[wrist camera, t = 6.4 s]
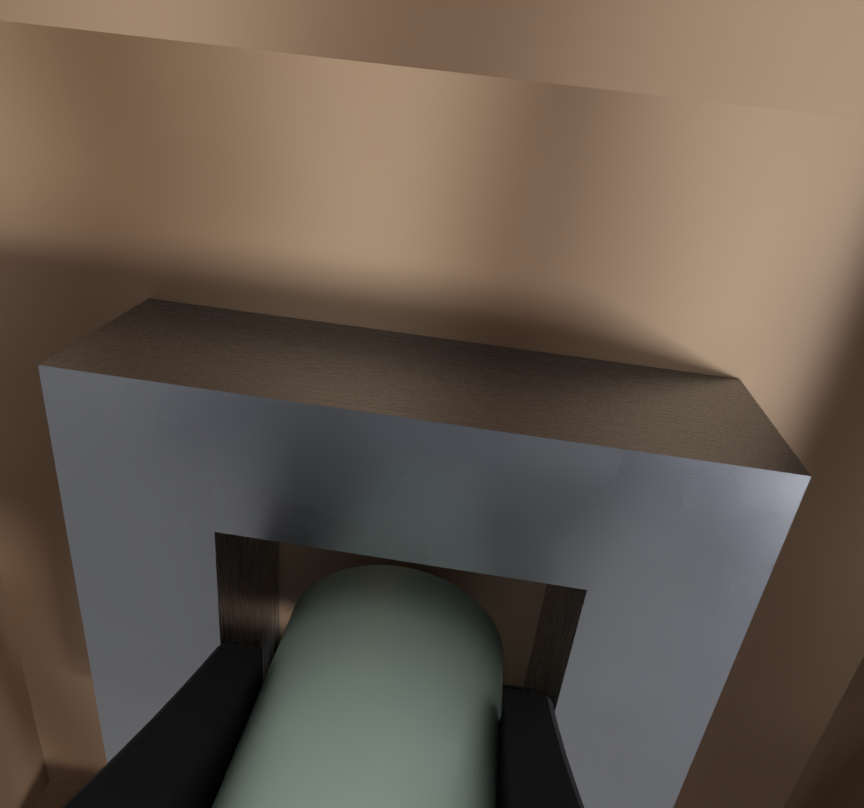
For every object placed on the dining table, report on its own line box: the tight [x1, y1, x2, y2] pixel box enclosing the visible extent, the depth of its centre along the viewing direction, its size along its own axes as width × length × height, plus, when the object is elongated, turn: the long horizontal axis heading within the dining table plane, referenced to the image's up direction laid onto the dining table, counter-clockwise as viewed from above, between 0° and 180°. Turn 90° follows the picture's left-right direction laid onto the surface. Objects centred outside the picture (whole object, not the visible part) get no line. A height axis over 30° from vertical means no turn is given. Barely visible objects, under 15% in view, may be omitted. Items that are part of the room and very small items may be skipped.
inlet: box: [38, 298, 811, 808], centre depth 12 cm, size 10×10×3 cm
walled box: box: [0, 0, 864, 808], centre depth 12 cm, size 20×20×4 cm
